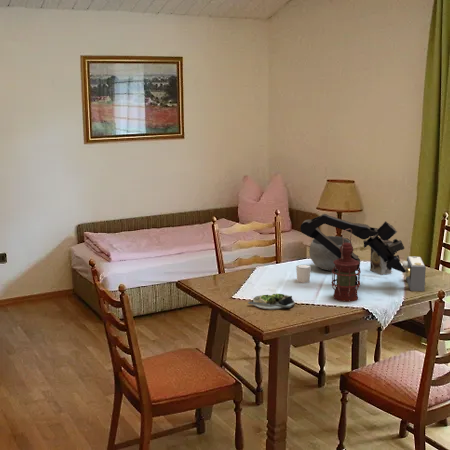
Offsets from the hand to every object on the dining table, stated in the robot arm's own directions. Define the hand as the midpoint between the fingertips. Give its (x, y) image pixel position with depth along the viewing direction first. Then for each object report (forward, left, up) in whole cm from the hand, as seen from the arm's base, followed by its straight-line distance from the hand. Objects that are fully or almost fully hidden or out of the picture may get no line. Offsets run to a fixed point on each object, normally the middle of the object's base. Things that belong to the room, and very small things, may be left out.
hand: (404, 271), depth 280 cm
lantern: (-27, -14, -8) cm, 32 cm away
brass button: (+2, 0, -2) cm, 3 cm away
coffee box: (-6, +27, -8) cm, 29 cm away
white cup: (-44, +11, -8) cm, 46 cm away
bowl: (-30, +32, -8) cm, 45 cm away
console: (+6, +6, -8) cm, 11 cm away
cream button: (+3, +12, -2) cm, 12 cm away
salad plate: (-57, -23, -8) cm, 62 cm away
